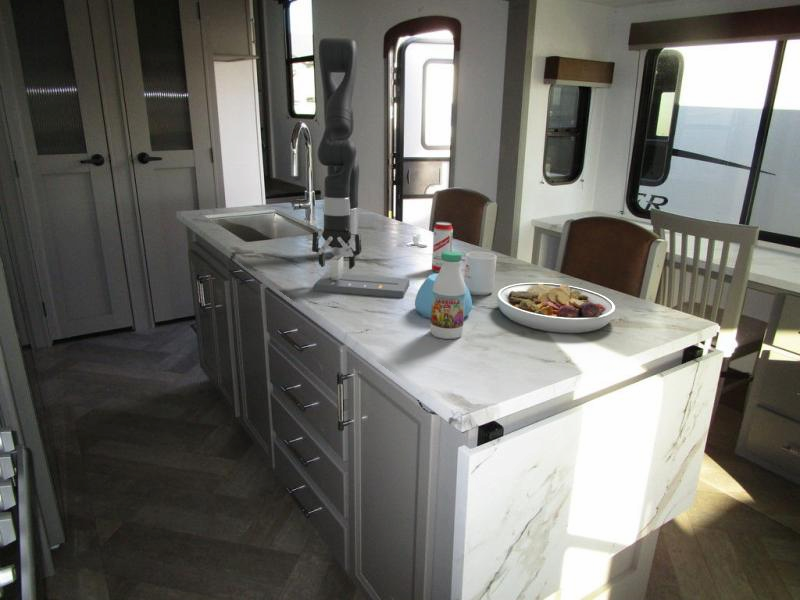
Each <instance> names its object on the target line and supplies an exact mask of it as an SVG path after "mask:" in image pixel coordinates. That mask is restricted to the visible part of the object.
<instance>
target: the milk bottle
mask: <svg viewBox="0 0 800 600" xmlns="http://www.w3.org/2000/svg"><path fill="white" fill-rule="evenodd" d="M462 256H463V254H462V253H461V252H460V251H457V250H452V251H444V252H442V255H441V259H442V260H441V262H442V266H441V269H440V272H438V273H437V274H438V275H437V277H436V279H435V282H434V286H433V295H432V310H431V319H430V326H429V328H430V331H429V332H430V334H431V335H432V336H434V337H435V338H439V339H441V340H442V339H443V340H454V339H458V338H460V337H461V336H462V334H463V332H464V331H463V330H464V322H465V321H464V320H465V319H464V318H465V317H464V307H465V282H464V275H463V274H462V270H461V264H462Z"/></svg>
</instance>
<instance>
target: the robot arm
mask: <svg viewBox="0 0 800 600" xmlns="http://www.w3.org/2000/svg"><path fill="white" fill-rule="evenodd" d="M318 60H319V68H320V74H321V75H320V76H321V77H320V78H321V83H322V85H321V86H322V93H323V117H324V118H323V119H324V132H323V135H322V138H321V141H320V142H319V146H318V149H317V158H318V161H319V163H320V164H321V165H323V166H324V167H327V169H326V170H327V176H325V177H324V198H323V199H324V200H323V208H322V210H323V231H319V230H314V231H313V232H312V241H311V242H312V243H311V244H312V245H311V252H313V253H316V254H318V265H320V267H323V268H324V267H325V266H326V253H325V251H326V250H327V249H328V247H330V248H331V255H333V257H334V256H335V255H342V256H343V258H348V269H349V270H352V269H353V268H354V267H355V265H356V256H359V255H360V254H361V253H362V237H361V236H362V235H361V233H360V232H359V231H358V229H359V224H358V223H359V183H360V166H359V163H358V161H357V160H356V158H357V148H356V145H355V144H354V142H353V141H351V140H350V138H351V136H352V134H353V132H354V130H355V129H354V126H355V125H354V124H355V123H354V119H355V118H354V109H353V106H352V101H353V94H354V89H355V83H356V75H357V68H358V46H357V43H356V41H355V40H354V39H352V38H344V37H343V38H340V37H337V38H336V37H324V38H321V39H320V41H319V44H318ZM333 73H341V74H342V73H344V75H343V78H342V80H341V82H340V84H339V85H338V84H337V82H336V81H335V78H334V74H333ZM321 238H323V239H324V241H325V242H324V243H323V245H322V246H321V247H319V244H320V243H319V242H320V239H321Z"/></svg>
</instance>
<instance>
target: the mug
mask: <svg viewBox="0 0 800 600" xmlns="http://www.w3.org/2000/svg"><path fill="white" fill-rule="evenodd" d="M464 257H465V261H464V275H463V279H464V282H465V284H466V286H467V288H468V290H469V292H470V295H474V296H487V295H489V294H491V293H492V292H493V291H494V287H495V279H496V278H495V277H496V267H497V258H498V257H497V255H496V254H494V253H491V252H487V251H470V252H467V253H466V254H465V256H464Z"/></svg>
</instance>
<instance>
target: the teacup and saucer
mask: <svg viewBox="0 0 800 600" xmlns="http://www.w3.org/2000/svg"><path fill="white" fill-rule="evenodd" d="M421 239H422V235H419V234H414V235H412V242H407V244H406V245H407V246H408V247H412V248H417V247H419V248H425V247H427V246H428V242H422V241H421ZM411 244H413V245H411Z"/></svg>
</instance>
